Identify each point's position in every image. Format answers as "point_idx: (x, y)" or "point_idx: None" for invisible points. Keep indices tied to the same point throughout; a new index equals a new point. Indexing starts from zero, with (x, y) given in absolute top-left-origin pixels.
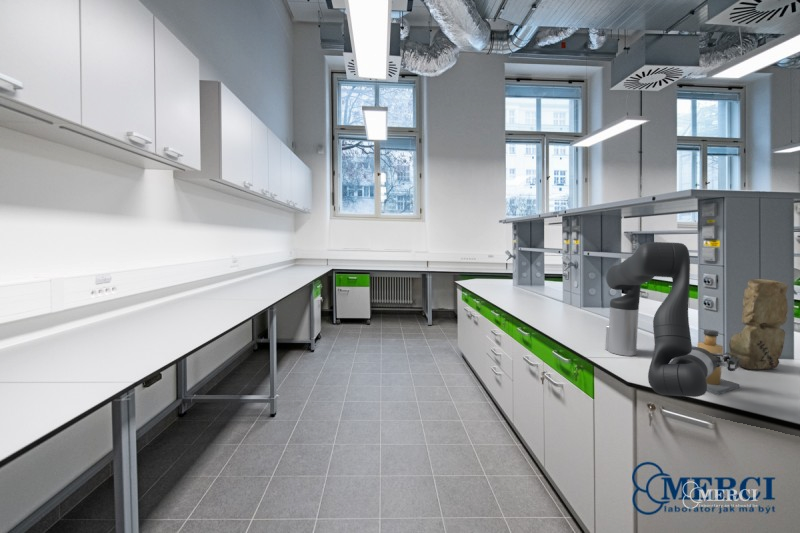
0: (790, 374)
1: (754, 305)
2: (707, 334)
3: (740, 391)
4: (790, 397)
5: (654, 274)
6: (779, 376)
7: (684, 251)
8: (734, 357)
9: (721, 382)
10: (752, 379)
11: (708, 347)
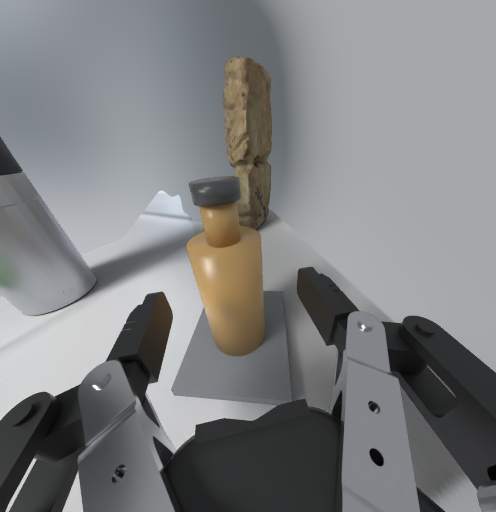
0: (280, 221)
1: (246, 117)
2: (208, 202)
3: (296, 316)
4: (340, 276)
5: None
6: (279, 229)
7: None
8: (420, 332)
9: None
10: (270, 253)
11: (228, 261)
